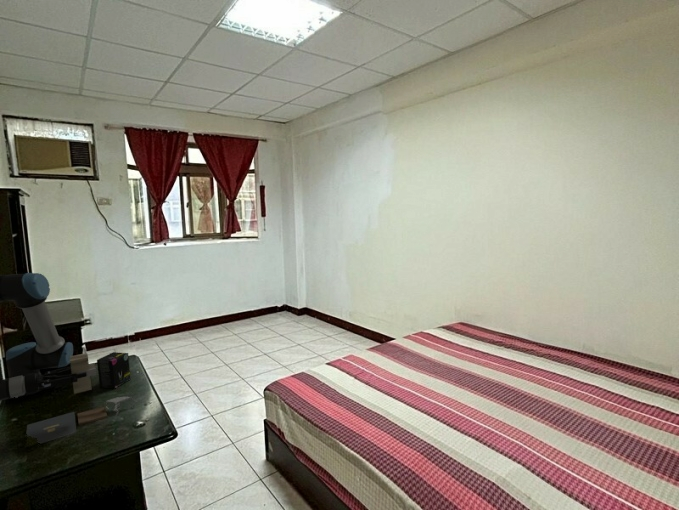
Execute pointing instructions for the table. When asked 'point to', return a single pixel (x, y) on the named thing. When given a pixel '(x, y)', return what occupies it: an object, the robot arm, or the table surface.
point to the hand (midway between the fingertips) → (95, 368)
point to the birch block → (79, 365)
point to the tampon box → (113, 370)
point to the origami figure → (118, 402)
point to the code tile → (52, 428)
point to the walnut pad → (92, 415)
